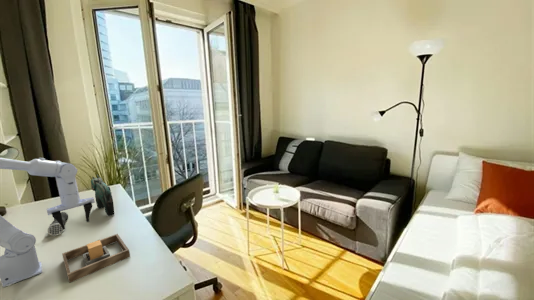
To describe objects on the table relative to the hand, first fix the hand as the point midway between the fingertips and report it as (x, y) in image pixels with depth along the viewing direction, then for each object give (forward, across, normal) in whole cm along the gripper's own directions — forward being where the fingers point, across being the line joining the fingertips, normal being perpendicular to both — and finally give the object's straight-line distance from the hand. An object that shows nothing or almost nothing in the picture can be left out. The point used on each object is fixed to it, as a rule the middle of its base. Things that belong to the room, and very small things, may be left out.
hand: (76, 224), depth 97 cm
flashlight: (+10, +4, -26) cm, 28 cm away
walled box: (+9, -3, +15) cm, 18 cm away
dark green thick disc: (+10, -15, -30) cm, 35 cm away
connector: (+10, -3, +15) cm, 18 cm away
